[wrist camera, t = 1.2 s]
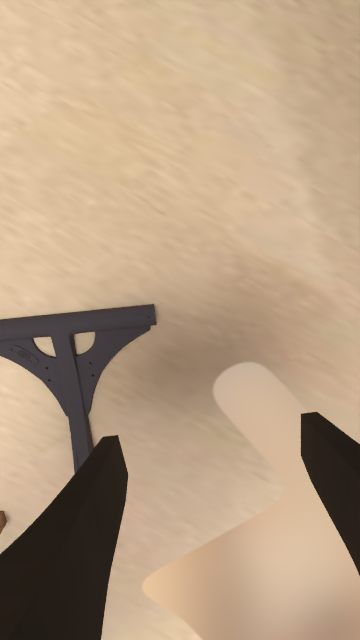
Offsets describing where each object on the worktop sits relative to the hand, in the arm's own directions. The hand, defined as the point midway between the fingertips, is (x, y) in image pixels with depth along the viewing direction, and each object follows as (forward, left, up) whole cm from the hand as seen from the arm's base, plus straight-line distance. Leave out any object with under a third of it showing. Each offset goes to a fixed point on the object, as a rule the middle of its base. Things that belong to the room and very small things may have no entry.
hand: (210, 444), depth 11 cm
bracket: (-3, +9, -14) cm, 17 cm away
